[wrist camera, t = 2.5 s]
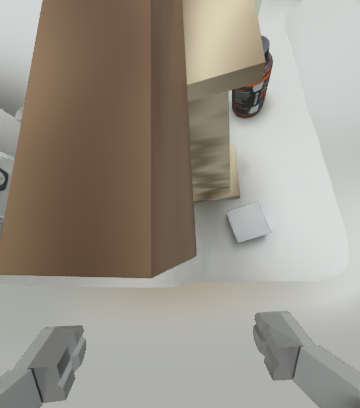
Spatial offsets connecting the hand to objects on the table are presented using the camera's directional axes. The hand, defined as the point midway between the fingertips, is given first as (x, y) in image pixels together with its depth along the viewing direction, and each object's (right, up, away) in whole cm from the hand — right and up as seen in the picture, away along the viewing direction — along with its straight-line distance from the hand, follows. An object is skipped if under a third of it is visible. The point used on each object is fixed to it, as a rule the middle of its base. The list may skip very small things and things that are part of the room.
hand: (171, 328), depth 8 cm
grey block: (+12, +2, +23) cm, 26 cm away
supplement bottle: (+14, +26, +27) cm, 40 cm away
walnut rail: (-1, +13, +1) cm, 14 cm away
